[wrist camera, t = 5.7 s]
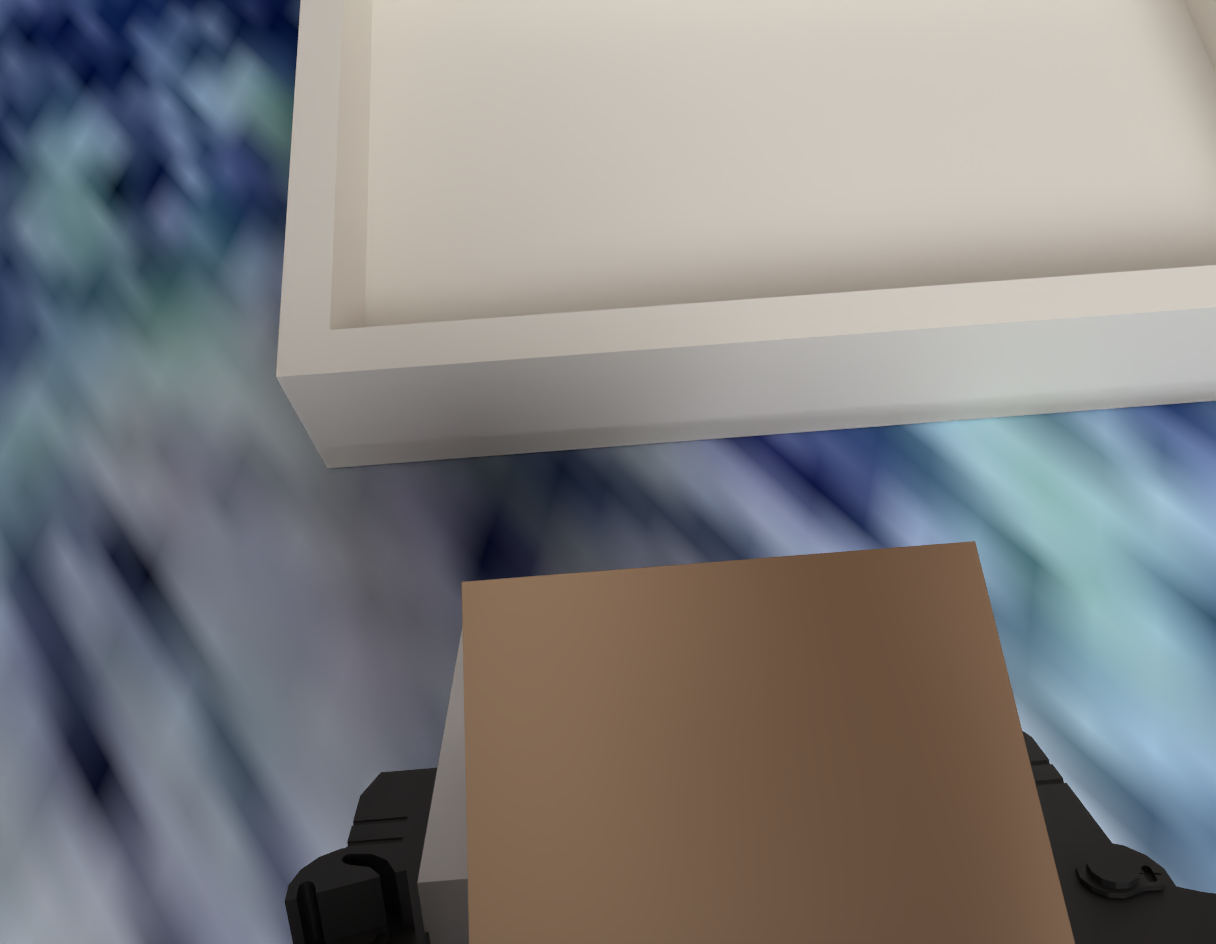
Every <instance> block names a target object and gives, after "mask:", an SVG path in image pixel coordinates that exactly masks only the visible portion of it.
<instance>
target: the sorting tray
mask: <svg viewBox="0 0 1216 944" xmlns="http://www.w3.org/2000/svg"><path fill="white" fill-rule="evenodd" d="M276 378H277V380H278V382H279V383H280V385H281V387H282V389H283V390H284V392H285V394H286V396H287V398H288V399H289V401H290V403H291V405H292V406H293V408H294V410H295V412H296V414H297V415H298V417H299V419H300V421H301V422H302V424H303V426H304V428H305V430H306V431H307V433H308V435H309V437H310V438H311V440H312V442H313V444H314V446H315V447H316V449H317V451H318V453H319V454H320V456H321V458H322V460H323V462H324V463H325V465H326V467H327V468H338V467H352V466H365V465H378V464H391V463H404V462H417V461H430V460H443V459H456V458H469V457H483V456H496V455H509V454H522V453H535V452H548V451H561V450H574V449H587V448H600V447H614V446H627V445H640V444H653V443H666V442H679V441H692V440H705V439H718V438H732V437H745V436H758V435H771V434H784V433H797V432H810V431H823V430H836V429H849V428H863V427H876V426H889V425H902V424H915V423H928V422H941V421H954V420H967V419H980V418H994V417H1007V416H1020V415H1033V414H1046V413H1059V412H1072V411H1085V410H1098V409H1111V408H1125V407H1138V406H1151V405H1164V404H1177V403H1190V402H1203V401H1216V0H301V2H300V18H299V33H298V48H297V63H296V79H295V94H294V109H293V124H292V140H291V155H290V170H289V186H288V201H287V216H286V231H285V247H284V262H283V277H282V292H281V308H280V323H279V338H278V353H277V369H276Z"/></svg>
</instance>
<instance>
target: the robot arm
mask: <svg viewBox="0 0 1216 944" xmlns="http://www.w3.org/2000/svg"><path fill="white" fill-rule="evenodd" d="M1022 732H1023V731H1022ZM1023 736H1024V740H1025V744H1026V748H1027V752H1028V756H1029V760H1030V764H1031V768H1032V773H1033V777H1034V781H1035V785H1036V789H1037V793H1038V797H1039V801H1040V805H1041V809H1042V813H1043V817H1044V821H1045V825H1046V829H1047V833H1048V837H1049V841H1050V845H1051V849H1052V853H1053V857H1054V861H1055V865H1056V869H1057V873H1058V877H1059V881H1060V885H1061V889H1062V893H1063V897H1064V901H1065V905H1066V909H1067V913H1068V917H1069V921H1070V925H1071V929H1072V933H1073V937H1074V941H1075V944H1216V894H1213V893H1206V892H1199V891H1195V890H1190V889H1185V888H1180V887H1177V886H1175V884H1174V882H1173V881H1172V880H1171V878H1170V877H1169V875H1168V874H1167V872H1166V871H1165V869H1164V868H1162V867H1161V866H1160V865H1158V864H1157V863H1156V862H1154V861H1153V860H1152V859H1150V858H1149V857H1148V856H1146V855H1144V854H1142V853H1140V852H1137V851H1135V850H1133V849H1130V848H1128V847H1126V846H1123V845H1118V844H1113V843H1112V842H1111V841H1110V840H1109V838H1108V837H1107V836H1106V834H1105V833H1104V832H1103V830H1102V829H1101V828H1100V827H1099V825H1098V824H1097V823H1096V821H1095V820H1094V819H1093V817H1092V816H1091V815H1090V813H1089V812H1088V811H1087V809H1086V808H1085V807H1084V805H1083V804H1082V803H1081V801H1080V800H1079V799H1078V797H1077V796H1076V795H1075V794H1074V792H1073V791H1072V790H1071V788H1070V787H1069V786H1068V784H1067V783H1064V782H1063V778H1062V776H1061V775H1060V774H1059V772H1058V771H1057V770H1056V768H1055V767H1054V766H1053V764H1050V763H1049V759H1048V758H1047V757H1046V755H1045V754H1044V753H1043V751H1042V750H1041V749H1040V747H1039V746H1038V745H1037V743H1036V742H1035V741H1034V739H1033V738H1032V737H1031V736H1029V735H1028V734H1026V733H1025V732H1023ZM285 905H286V910H287V915H288V920H289V925H290V930H291V935H292V940H293V944H469V914H468V867H467V820H466V772H465V725H464V678H463V630H462V631H461V636H460V642H459V648H458V654H457V659H456V665H455V671H454V676H453V682H452V688H451V694H450V699H449V705H448V711H447V716H446V722H445V728H444V733H443V739H442V745H441V751H440V756H439V762H438V768H429V769H417V770H405V771H393V772H381V773H380V774H379V775H378V777H377V778H376V779H375V780H374V781H373V782H372V783H371V784H370V786H369V787H368V788H367V789H366V790H365V791H364V792H363V793H362V795H361V796H360V799H359V802H358V806H357V810H356V813H355V817H354V820H353V826H352V827H351V831H350V835H349V838H348V847H346V848H343V849H339V850H337V851H334V852H331V853H329V854H326V855H323V856H321V857H319V858H317V859H316V860H314V861H313V862H311V863H310V864H309V865H307V866H306V867H304V868H303V869H301V870H300V871H299V873H298V874H297V875H296V877H295V878H294V879H293V880H292V882H291V883H290V884H289V886H288V890H287V894H286V898H285Z"/></svg>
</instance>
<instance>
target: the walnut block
mask: <svg viewBox="0 0 1216 944" xmlns="http://www.w3.org/2000/svg"><path fill="white" fill-rule="evenodd" d="M461 583H462V630H463V678H464V725H465V772H466V820H467V867H468V914H469V944H1075V941H1074V937H1073V933H1072V929H1071V925H1070V921H1069V917H1068V913H1067V909H1066V905H1065V901H1064V897H1063V893H1062V889H1061V885H1060V881H1059V877H1058V873H1057V869H1056V865H1055V861H1054V857H1053V853H1052V849H1051V845H1050V841H1049V837H1048V833H1047V829H1046V825H1045V821H1044V817H1043V813H1042V809H1041V805H1040V801H1039V797H1038V793H1037V789H1036V785H1035V781H1034V777H1033V773H1032V768H1031V764H1030V760H1029V756H1028V752H1027V748H1026V744H1025V740H1024V736H1023V732H1022V728H1021V724H1020V720H1019V716H1018V712H1017V708H1016V704H1015V700H1014V696H1013V692H1012V688H1011V684H1010V680H1009V676H1008V672H1007V668H1006V664H1005V660H1004V656H1003V652H1002V648H1001V644H1000V640H999V636H998V632H997V628H996V624H995V620H994V616H993V612H992V608H991V604H990V600H989V596H988V592H987V588H986V583H985V579H984V575H983V571H982V567H981V563H980V559H979V555H978V551H977V547H976V543H975V541H973V542H960V543H948V544H935V545H922V546H910V547H897V548H884V549H872V550H859V551H847V552H834V553H821V554H809V555H796V556H783V557H771V558H758V559H745V560H733V561H720V562H708V563H695V564H682V565H670V566H657V567H644V568H632V569H619V570H606V571H594V572H581V573H569V574H556V575H543V576H531V577H518V578H505V579H493V580H480V581H467V582H461Z"/></svg>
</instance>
